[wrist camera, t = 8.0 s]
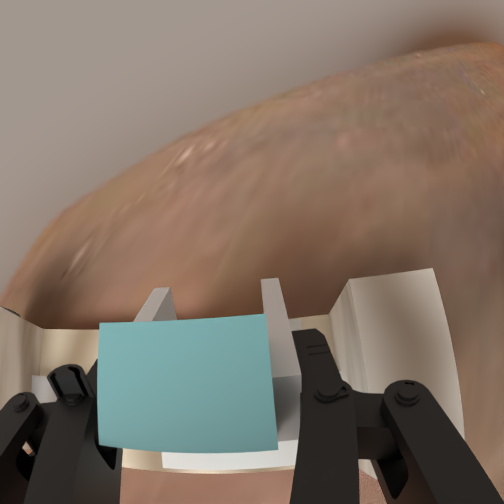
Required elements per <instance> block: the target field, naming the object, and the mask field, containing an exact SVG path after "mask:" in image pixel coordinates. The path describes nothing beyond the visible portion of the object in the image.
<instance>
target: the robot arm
mask: <svg viewBox="0 0 504 504" xmlns="http://www.w3.org/2000/svg"><path fill="white" fill-rule="evenodd" d="M261 288H262V299H263V310H264V314H266V321H267V331H268V342H269V352H270V363H271V373H272V384H273V395H274V406H275V417H276V428H277V439H278V442H281V441H290V440H298V447H297V455H296V463H295V470H294V477H293V484H292V491H291V498H290V504H359V463H358V459H367V460H370V461H371V464H372V466H373V469H374V471H375V474H376V477H377V479H378V482H379V484H380V487H381V489H382V492H383V494H384V497H385V499H386V502H387V504H504V501H503V500H502V498H501V497H500V495H499V493H498V492H497V490H496V488H495V487H494V485H493V483H492V482H491V480H490V479H489V477H488V476H487V474H486V472H485V471H484V469H483V468H482V466H481V465H480V463H479V462H478V460H477V459H476V457H475V455H474V454H473V452H472V451H471V449H470V448H469V446H468V445H467V443H466V442H465V440H464V439H463V438H462V436H461V435H460V433H459V432H458V430H457V429H456V427H455V426H454V424H453V423H452V422H451V420H450V419H449V417H448V416H447V414H446V413H445V412H444V410H443V409H442V407H441V406H440V405H439V403H438V402H437V400H436V399H435V398H434V396H433V395H432V393H431V392H430V391H429V389H428V388H427V387H425V386H424V385H423V384H422V383H419V382H417V381H414V380H398V381H396V382H393V383H391V384H390V385H389V386H388V387H387V388H386V389H385V391H384V394H383V393H363V392H359V391H356V390H353V389H352V387H351V386H350V385H349V384H348V383H347V382H346V381H343V380H342V378H341V375H340V373H339V370H338V368H337V365H336V363H335V360H334V357H333V355H332V353H331V350H330V347H329V345H328V342H327V340H326V338H325V335H324V334H323V333H321V332H320V331H319V330H317V329H316V328H313V329H305V330H296V331H291V328H290V324H289V320H288V316H287V312H286V308H285V303H284V299H283V295H282V291H281V287H280V283H279V279H278V278H270V279H261ZM171 320H177V317H176V312H175V308H174V303H173V298H172V293H171V288H170V287H164V288H154V290H153V291H152V293H151V294H150V296H149V297H148V299H147V301H146V302H145V304H144V305H143V307H142V308H141V310H140V311H139V313H138V315H137V316H136V318H135V319H134V321H133V322H149V321H171ZM97 369H98V359H96V361H95V362H94V365H92V367H91V369H90V370H89V372H88V373H87V375H86V374H85V372H84V370H83V368H82V367H81V366H79V365H77V364H66V365H62V366H60V367H57V368H55V369H54V370H53V371H51V372H50V373H49V374H48V376H47V377H46V378H47V380H48V382H49V384H50V386H51V387H52V389H53V391H54V393H55V395H56V397H57V400H56V402H47V403H39V401H38V399H37V397H36V396H35V394H33V393H31V392H21V393H18V394H16V395H14V396H13V397H12V398H11V399H9V400H8V402H7V403H6V404H5V405H4V407H3V408H2V409H1V410H0V504H120V484H121V469H122V457H123V448H117V447H110V446H103V445H99V433H98V407H97ZM25 443H27V444H28V445H29V447H30V448H31V449H32V452H31V453H30V454H29V455H28V454H27V453H26V452H25V451H24V449H23V448H22V447H23V446H24V444H25Z"/></svg>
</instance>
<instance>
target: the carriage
mask: <svg viewBox="0 0 504 504" xmlns="http://www.w3.org/2000/svg"><path fill="white" fill-rule="evenodd" d="M289 324H290V328H291V331H296V330H302V324H301V318H299V319H290V320H289ZM97 407H98V433H99V445H103V446H110V447H117V448H125V449H134V450H144V451H156V452H162V464H163V468H171V469H190V470H237V469H257V468H271V467H281V466H291V465H295V463H296V455H297V447H298V440H290V441H281V442H278V439H277V428H276V417H275V406H274V395H273V384H272V373H271V363H270V352H269V342H268V331H267V321H266V314H256V315H244V316H232V317H219V318H205V319H189V320H171V321H149V322H119V323H100V326H99V342H98V369H97Z"/></svg>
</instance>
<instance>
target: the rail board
mask: <svg viewBox="0 0 504 504" xmlns="http://www.w3.org/2000/svg"><path fill="white" fill-rule="evenodd" d="M300 318H301V324H302V330H305V329H313V328H316V329H317V330H319V331H320V332H321V333H323V334H324V335H325V338H326V340H327V342H328V345H329V347H330V350H331V353H332V355H333V357H334V360H335V363H336V365H337V368H338V370H339V373H340V375H341V378H342V380H343V381H346V382H347V383H348V384H349V385H350V386H351V387H352V389H353V390H356V391H359V392H363V393H383V394H384V391H385V389H386V388H387V387H388V386H389V385H390V384H391V383H393V382H396V381H398V380H414V381H417V382H419V383H422V384H423V385H424V386H425V387H427V388H428V389H429V391H430V392H431V393H432V395H433V396H434V398H435V399H436V400H437V402H438V403H439V405H440V406H441V407H442V409H443V410H444V412H445V413H446V414H447V416H448V417H449V419H450V420H451V422H452V423H453V424H454V426H455V427H456V429H457V430H458V432H459V433H460V435H461V436H462V438H463V439H464V440H465V436H464V423H463V412H462V403H461V395H460V388H459V381H458V374H457V368H456V362H455V357H454V352H453V346H452V342H451V337H450V332H449V328H448V323H447V319H446V315H445V311H444V307H443V303H442V299H441V295H440V292H439V288H438V284H437V281H436V278H435V274H434V271H433V268H429V269H422V270H415V271H408V272H401V273H393V274H386V275H378V276H370V277H362V278H354V279H349V280H348V282H347V283H346V285H345V287H344V289H343V290H342V292H341V294H340V296H339V297H338V299H337V301H336V303H335V304H334V306H333V308H332V309H331V311H330V313H329V314H325V315H317V316H309V317H300ZM291 319H299V318H291ZM288 320H290V319H288ZM98 342H99V330H69V329H42V328H40V327H38V326H36V325H34V324H32V323H30V322H28V321H26V320H24V319H23V318H21V316H20V315H19V314H17V313H16V312H14V311H12V310H9V309H7V308H4V307H1V306H0V410H1V409H2V408H3V407H4V405H5V404H6V403H7V402H8V400H9V399H11V398H12V397H13V396H14V395H16V394H18V393H21V392H31V393H33V394H35V396H36V397H37V399H38V401H39V403H47V402H56V400H57V397H56V395H55V393H54V391H53V389H52V387H51V386H50V384H49V382H48V380H47V378H46V377H47V376H48V374H49V373H50V372H51V371H53V370H54V369H55V368H57V367H60V366H62V365H66V364H77V365H79V366H81V367H82V368H83V370H84V372H85V374H86V375H87V373H88V372H89V370H90V369H91V367H92V365H94V362H95V361H96V359H98ZM22 448H23V449H24V450H31V448H30V447H29V445H28V444H27V443H25V444H24V446H23V447H22ZM358 463H359V469H360V470H362V471H364V472H365V473H367V474H368V475H370V476H371V477H373V478H375V479H377V477H376V474H375V471H374V469H373V466H372V464H371V461H370V460H367V459H358ZM122 467H127V468H134V469H143V470H152V471H164V472H178V473H209V474H221V473H252V472H267V471H278V470H288V469H295V465H291V466H281V467H271V468H257V469H237V470H190V469H171V468H163V464H162V452H156V451H144V450H134V449H125V448H123V457H122Z"/></svg>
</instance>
